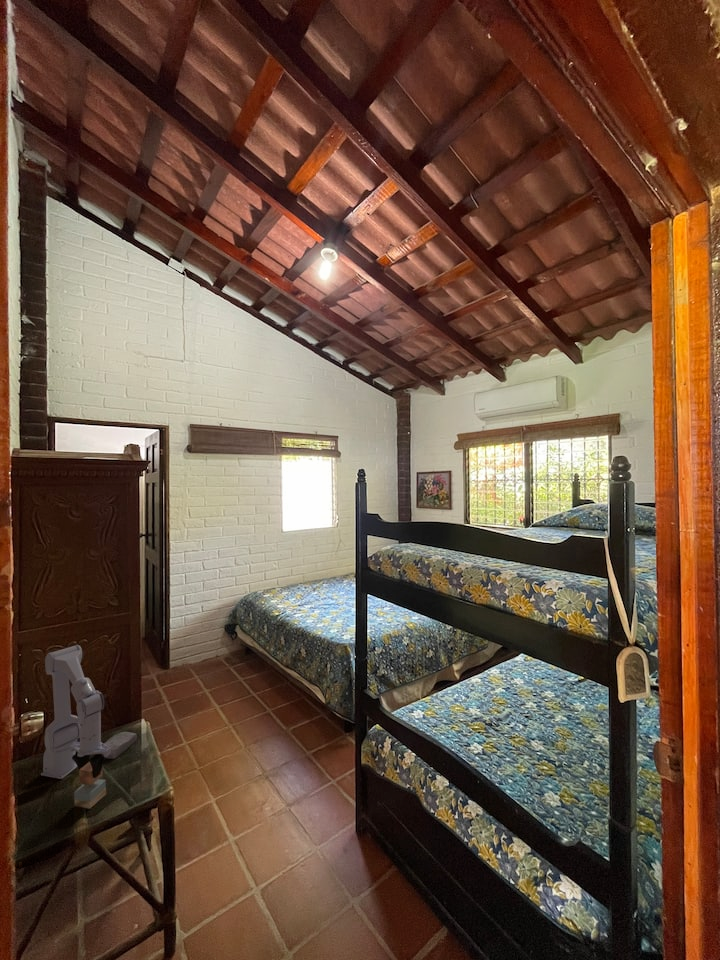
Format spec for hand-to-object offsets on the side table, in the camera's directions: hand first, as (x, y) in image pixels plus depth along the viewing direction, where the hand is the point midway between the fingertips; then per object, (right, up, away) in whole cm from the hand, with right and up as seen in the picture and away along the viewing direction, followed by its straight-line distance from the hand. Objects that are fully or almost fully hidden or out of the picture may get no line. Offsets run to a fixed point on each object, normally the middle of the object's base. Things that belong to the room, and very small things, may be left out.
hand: (90, 774), depth 128 cm
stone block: (-7, -9, +25) cm, 28 cm away
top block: (0, -6, 0) cm, 6 cm away
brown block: (0, -8, 0) cm, 8 cm away
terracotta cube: (0, -2, 0) cm, 2 cm away
